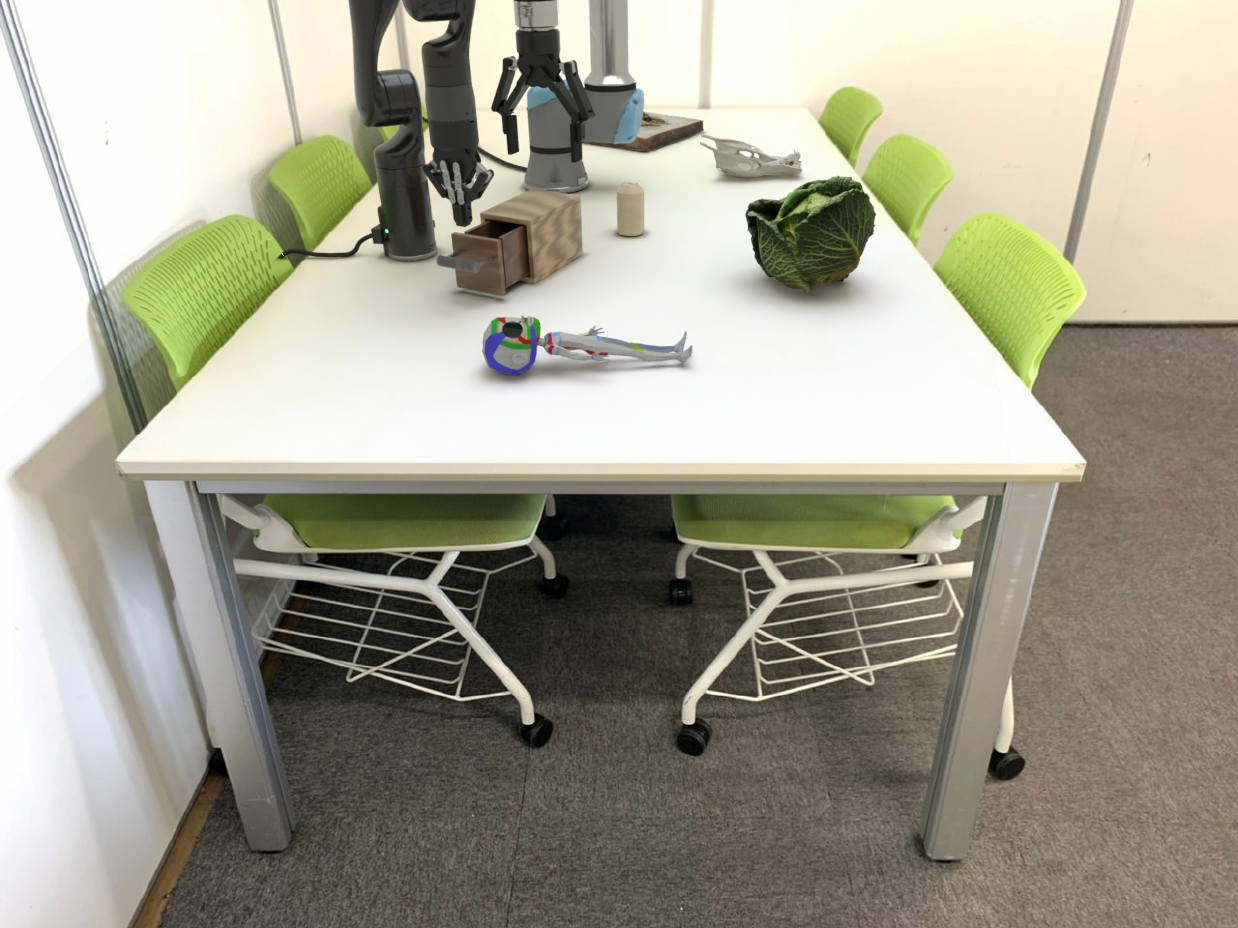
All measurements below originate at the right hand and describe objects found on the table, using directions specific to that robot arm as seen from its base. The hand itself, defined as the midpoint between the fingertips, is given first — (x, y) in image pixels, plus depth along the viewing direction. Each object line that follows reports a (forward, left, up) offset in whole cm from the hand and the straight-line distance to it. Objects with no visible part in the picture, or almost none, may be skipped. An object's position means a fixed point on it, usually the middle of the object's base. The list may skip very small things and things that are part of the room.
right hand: (544, 157), depth 163 cm
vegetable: (+45, +20, -19) cm, 53 cm away
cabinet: (+1, -5, -19) cm, 19 cm away
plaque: (-59, +85, -19) cm, 105 cm away
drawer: (+5, -17, -18) cm, 25 cm away
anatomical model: (-7, +72, -19) cm, 75 cm away
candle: (+2, +20, -19) cm, 28 cm away
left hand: (+7, -24, -5) cm, 26 cm away
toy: (+40, -28, -19) cm, 52 cm away
